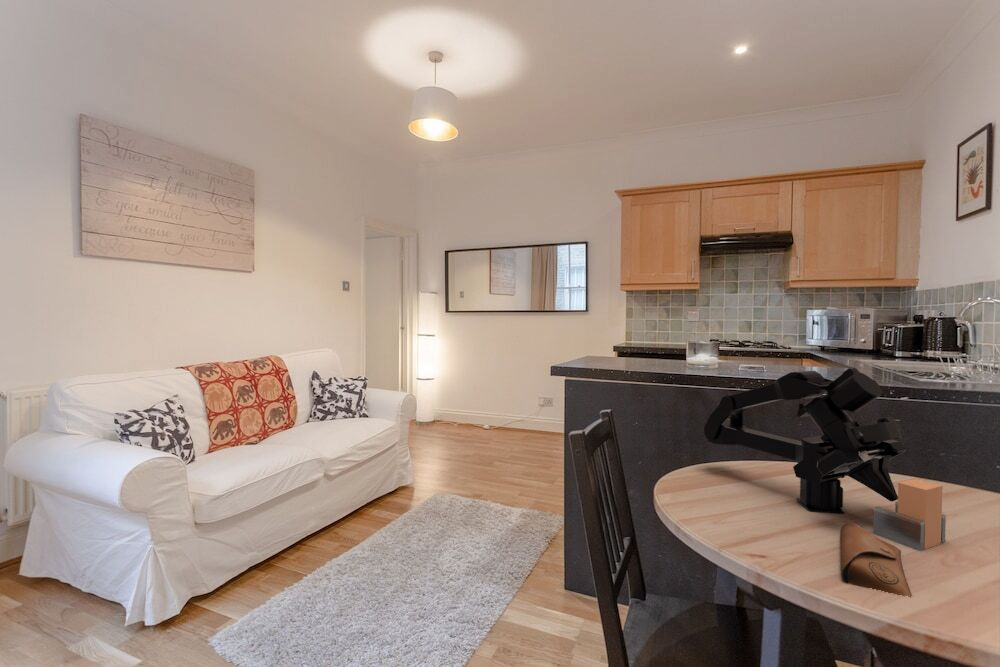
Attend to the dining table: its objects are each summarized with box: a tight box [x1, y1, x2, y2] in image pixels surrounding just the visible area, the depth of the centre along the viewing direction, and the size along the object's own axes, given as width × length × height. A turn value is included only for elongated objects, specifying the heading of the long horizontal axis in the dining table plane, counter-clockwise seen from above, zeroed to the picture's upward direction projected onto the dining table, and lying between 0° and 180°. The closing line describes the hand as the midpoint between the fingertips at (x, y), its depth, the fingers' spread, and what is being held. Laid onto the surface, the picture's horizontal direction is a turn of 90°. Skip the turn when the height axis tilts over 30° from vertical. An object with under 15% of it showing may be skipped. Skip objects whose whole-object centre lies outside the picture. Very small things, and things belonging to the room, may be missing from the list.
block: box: [897, 478, 943, 550], centre depth 83 cm, size 4×5×10 cm
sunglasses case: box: [839, 521, 913, 599], centre depth 76 cm, size 18×7×7 cm
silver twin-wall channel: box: [872, 500, 947, 552], centre depth 84 cm, size 7×8×5 cm
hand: (895, 500), depth 86 cm, fingers closed
